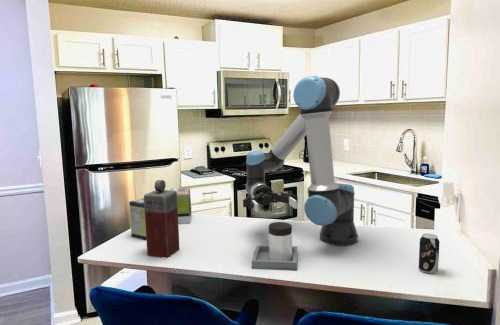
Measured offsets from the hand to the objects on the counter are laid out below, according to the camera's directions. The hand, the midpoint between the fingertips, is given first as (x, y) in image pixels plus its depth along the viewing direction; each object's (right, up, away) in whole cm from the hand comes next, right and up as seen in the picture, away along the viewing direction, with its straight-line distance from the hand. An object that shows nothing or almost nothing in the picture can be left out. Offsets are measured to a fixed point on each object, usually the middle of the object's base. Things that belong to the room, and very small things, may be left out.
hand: (276, 206), depth 127 cm
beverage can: (+49, -21, -5) cm, 53 cm away
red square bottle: (-43, -19, +16) cm, 50 cm away
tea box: (-43, -14, +58) cm, 74 cm away
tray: (0, -20, +6) cm, 21 cm away
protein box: (-52, -17, +38) cm, 67 cm away
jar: (+2, -19, +7) cm, 20 cm away
